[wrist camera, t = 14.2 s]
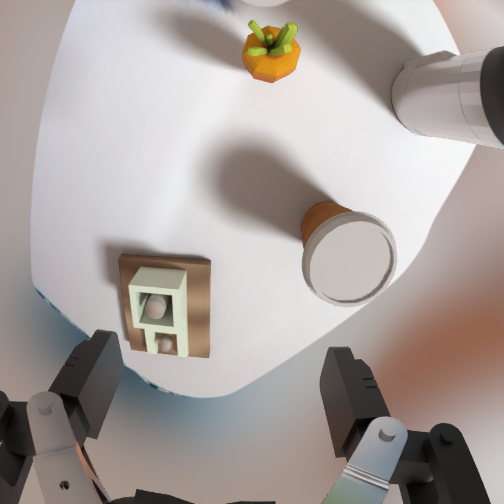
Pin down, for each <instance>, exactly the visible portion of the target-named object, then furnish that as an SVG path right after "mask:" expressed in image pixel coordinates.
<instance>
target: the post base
mask: <svg viewBox="0 0 504 504" xmlns="http://www.w3.org/2000/svg"><path fill="white" fill-rule="evenodd" d="M118 260H119V270H120V279H121V287H122V295H123V302H124V309H125V316H126V323H127V329H128V335H129V340H130V346H131V350H138V351H145V352H147V345H146V337H145V329H142V328H134V326H133V319H132V311H131V303H130V294H129V283H130V282H131V280H132V279H133V277H134V276H135V274H136V273H137V272H138V270H139V269H140V267H153V268H165V269H178V270H186V274H187V325H188V351H189V354H188V356H191V357H202V358H209V354H210V277H211V260H198V259H183V258H168V257H153V256H139V255H125V254H122V255H121V256H120V258H119V259H118ZM168 304H173V302H172V295H165V294H154V293H149V299H148V301H147V303H146V305H145V313H146V314H147V315H148V316H149V317H150V318H152V319H160V318H161V317H163V315H164V312H165V310H166V307H167V305H168ZM156 334H157V344H158V352H157V353H162V354H171V355H178V348H177V334H169V333H159V332H156Z"/></svg>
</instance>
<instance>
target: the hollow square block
mask: <svg viewBox="0 0 504 504" xmlns="http://www.w3.org/2000/svg"><path fill="white" fill-rule="evenodd" d="M149 293H154V294H165V295H172V302H173V304H168V305H167V307H166V310H165V312H164V315H163V317H161V318H160V319H152V318H150V317H149V316H148V315H147V314H146V313H145V305H146V303H147V301H148V299H149ZM129 294H130V303H131V311H132V319H133V326H134V328H142V329H145V337H146V345H147V352H148V353H152V354H157V352H158V344H157V334H156V332H159V333H169V334H177V348H178V357H187V358H188V354H189V351H188V325H187V274H186V270H178V269H165V268H153V267H140V269H139V270H138V272H137V273H136V274H135V276H134V277H133V279H132V280H131V282H130V283H129Z"/></svg>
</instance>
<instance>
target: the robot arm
mask: <svg viewBox="0 0 504 504" xmlns="http://www.w3.org/2000/svg"><path fill="white" fill-rule="evenodd" d="M391 98H392V104H393V108H394V111H395V113H396V115H397V117H398V119H399V120H400V121H401V123H402V124H403V125H404V126H405V127H406V128H407V129H408V130H410V131H412V132H413V133H416V134H418V135H424V136H428V137H438V138H444V139H451V140H457V141H463V142H469V143H474V144H480V145H485V146H490V147H495V148H499V149H504V46H503V47H498V48H492V49H486V50H481V51H476V52H471V53H466V54H462V55H455V54H453V53H450V52H448V51H440V52H436V53H433V54H429V55H426V56H423V57H419V58H416V59H413V60H410V61H407V62H404V64H403V70H402V71H401V72H400V73H399V74H398V75H397V77H396V79H395V80H394V83H393V86H392V93H391ZM122 374H123V359H122V354H121V350H120V345H119V340H118V335H117V333H116V332H113V331H106V330H99V329H98V330H96V331H95V333H94V334H93V336H92V338H91V339H90V341H87V340H84V341H83V342H81V343H80V344H79V345H78V346H76V347H75V348H74V350H73V351H72V353H71V354H70V356H69V358H68V359H67V361H66V362H65V365H64V366H63V367H62V369H61V370H60V372H59V374H58V375H57V377H56V378H55V380H54V382H53V383H52V385H51V387H50V388H49V390H48V391H47V392H46V391H45V392H40V393H37V394H35V395H34V396H33V397H31V399H30V400H29V401H28V402H14V401H9V399H8V397H7V396H6V394H5V393H4V392H2V391H0V442H1V446H0V504H18V503H19V500H20V497H21V494H22V491H23V488H24V485H25V482H26V479H27V476H28V474H29V471H30V468H31V466H32V463H34V467H35V470H36V474H37V477H38V480H39V483H40V487H41V490H42V493H43V496H44V499H45V502H46V504H194V503H191V502H188V501H184V500H182V499H179V498H176V497H174V496H170V495H167V494H160V493H154V492H148V491H144V490H139V489H137V490H136V494H135V497H123V498H119V499H115V500H111V499H110V497H109V495H108V493H107V492H106V490H105V488H104V487H103V485H102V483H101V481H100V479H99V477H98V475H97V472H96V470H95V468H94V466H93V463H92V461H91V459H90V456H89V454H88V452H87V449H86V447H85V445H84V442H85V440H86V437H90V438H94V439H97V438H98V435H99V432H100V430H101V427H102V425H103V422H104V419H105V417H106V414H107V411H108V409H109V407H110V404H111V402H112V399H113V397H114V394H115V392H116V389H117V387H118V384H119V382H120V380H121V377H122ZM320 392H321V396H322V400H323V404H324V409H325V413H326V417H327V421H328V425H329V430H330V434H331V439H332V443H333V447H334V451H335V456H336V458H339V457H346V460H347V465H346V466H345V468H344V470H343V471H342V473H341V474H340V476H339V478H338V479H337V481H336V482H335V484H334V485H333V487H332V488H331V490H330V491H329V493H328V494H327V496H326V497H325V498H324V500H323V501H322V503H321V504H382V503H383V501H384V499H385V497H386V495H387V493H388V490H389V487H390V485H388V484H399V488H400V492H401V496H402V500H403V504H491V503H490V500H489V497H488V495H487V493H486V489H485V487H484V484H483V482H482V479H481V477H480V474H479V472H478V469H477V467H476V465H475V462H474V460H473V458H472V455H471V453H470V451H469V448H468V446H467V444H466V442H465V440H464V437H463V435H462V433H461V432H460V431H459V429H458V428H456V427H455V426H453V425H451V424H447V423H440V424H437V425H435V426H434V427H433V428H432V429H431V430H430V432H419V431H411V430H407V429H406V427H405V426H404V425H403V423H401V422H400V421H399V420H397V419H395V418H392V417H391V416H390V413H389V411H388V409H387V406H386V404H385V402H384V399H383V397H382V394H381V392H380V390H379V388H378V385H377V383H376V380H374V376H373V373H372V371H371V369H370V367H369V366H368V365H367V364H365V362H364V361H362V360H361V359H358V360H355V359H354V356H353V354H352V352H351V349H350V348H349V347H329V349H328V351H327V354H326V358H325V362H324V365H323V369H322V372H321V376H320ZM228 504H275V501H272V502H271V501H270V502H250V501H248V502H247V501H246V502H245V501H240V502H234V503H228Z"/></svg>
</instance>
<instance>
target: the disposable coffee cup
mask: <svg viewBox="0 0 504 504" xmlns="http://www.w3.org/2000/svg"><path fill="white" fill-rule="evenodd" d="M301 231H302V239H303V248H304V252H303V258H302V272H303V276H304V279H305V281H306V284H307V286H308V287H309V288H310V290H311V291H312V292H313V293H314V294H315V295H316V296H317V297H319V298H320V299H322V300H324V301H326V302H328V303H330V304H333V305H335V306H341V307H354V306H359V305H363V304H365V303H367V302H369V301H371V300H373V299H375V298H376V297H377V296H378V295H380V294H381V293H382V292H383V291H384V290H385V289H386V287H387V286H388V285H389V283H390V282H391V280H392V278H393V276H394V273H395V270H396V265H397V251H396V243H395V240H394V237H393V234H392V233H391V231H390V229H389V228H388V227H387V226H386V224H385V223H384V222H383V221H381V220H380V219H379V218H377V217H375V216H373V215H371V214H368V213H364V212H355V211H352V210H350V209H348V208H345V207H343V206H340V205H338V204H336V203H332V202H322V203H318V204H316V205H314V206H313V207H311V208H310V209H309V210H308V211H307V212H306V214H305V215H304V218H303V220H302V224H301Z"/></svg>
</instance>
